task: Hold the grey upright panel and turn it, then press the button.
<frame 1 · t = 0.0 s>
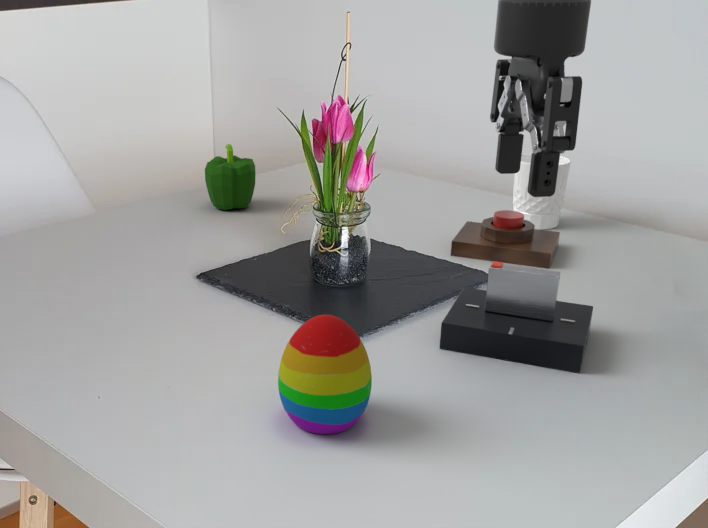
hand: (522, 183, 77), 19 cm above the table, tool pointing down, fingers open, 8 cm apart
button: (508, 220, 115), point 4 cm above the table, slide at 0.1 cm
white cup: (534, 224, 128), on the table
grey upright panel: (521, 290, 88), point 6 cm above the table, hinge at 0.0°
tap panel: (515, 339, 90), on the table
decorative egg: (323, 421, 75), on the table
bell pepper: (231, 208, 138), on the table
button block: (504, 251, 117), on the table
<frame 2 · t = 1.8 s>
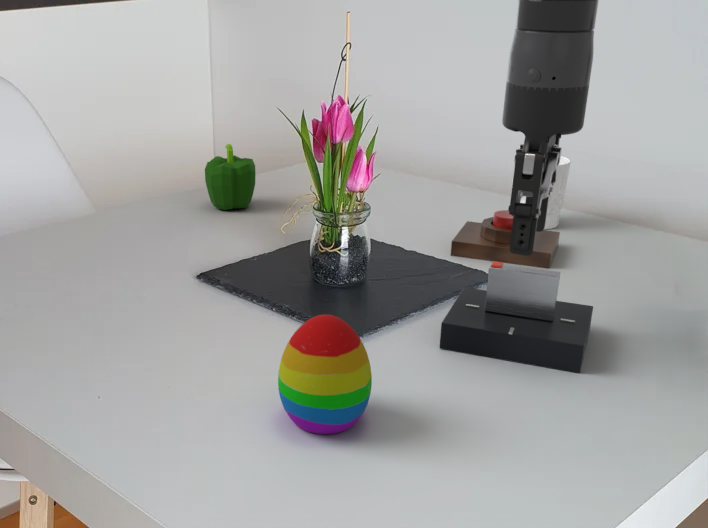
hand: (527, 241, 86), 11 cm above the table, tool pointing down, fingers open, 8 cm apart
nothing on the table moved.
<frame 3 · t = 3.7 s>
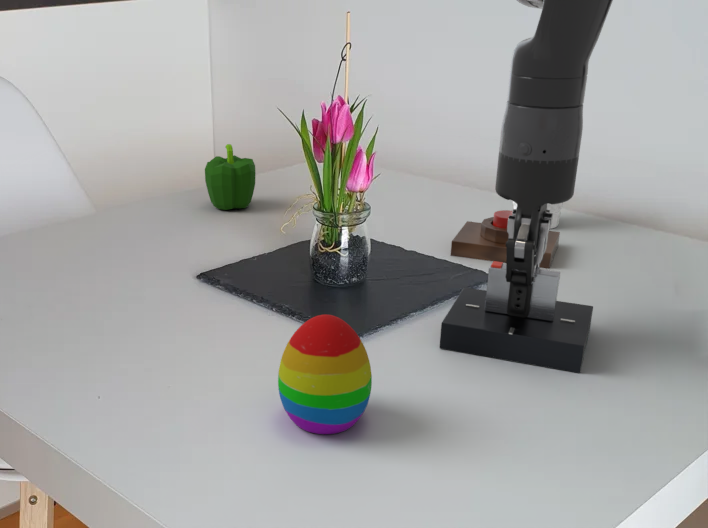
hand: (519, 310, 89), 3 cm above the table, tool pointing down, fingers closed on grey upright panel
grey upright panel: (521, 290, 88), point 6 cm above the table, hinge at 0.0°, touching gripper
everything else where it was.
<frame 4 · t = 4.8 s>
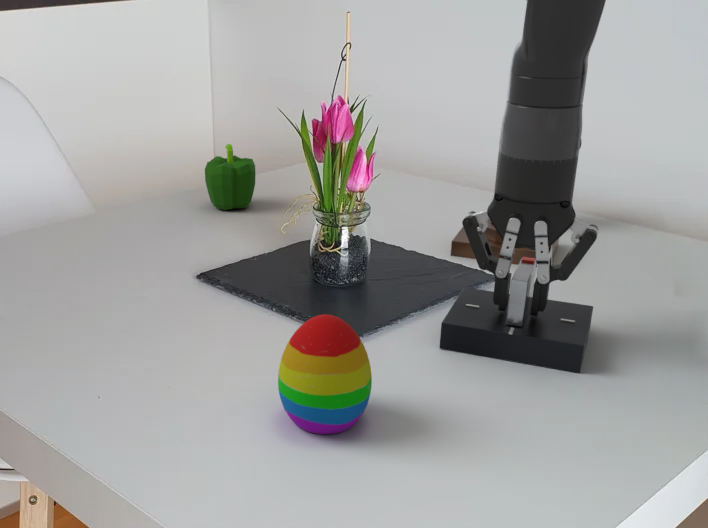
hand: (519, 310, 89), 3 cm above the table, tool pointing down, fingers closed
grey upright panel: (521, 290, 88), point 6 cm above the table, hinge at -89.7°
everything else where it was.
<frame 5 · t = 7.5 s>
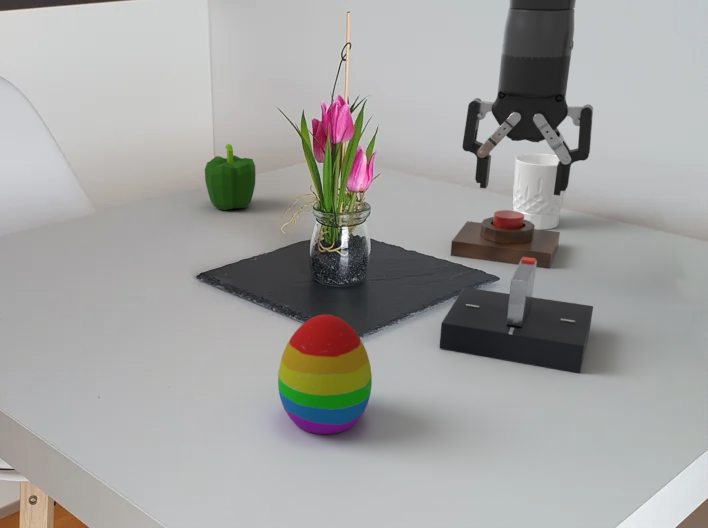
hand: (520, 190, 101), 12 cm above the table, tool pointing down, fingers open, 8 cm apart
nothing on the table moved.
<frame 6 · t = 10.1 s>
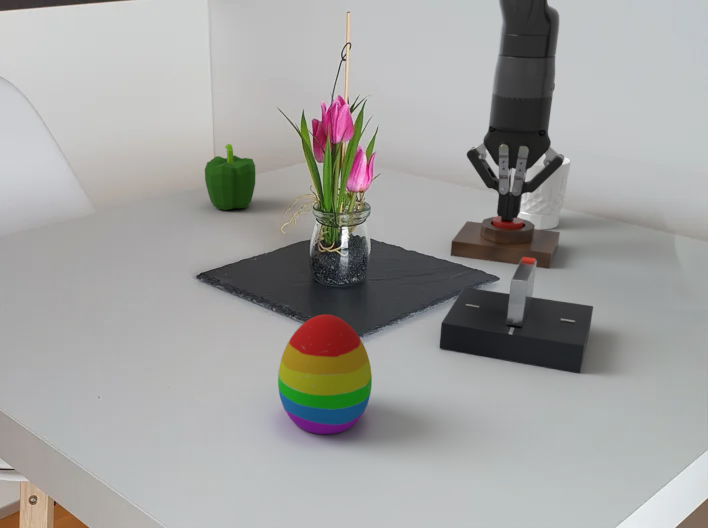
hand: (507, 219, 115), 5 cm above the table, tool pointing down, fingers closed
button: (507, 225, 115), point 4 cm above the table, slide at -0.7 cm, touching gripper
everything else where it was.
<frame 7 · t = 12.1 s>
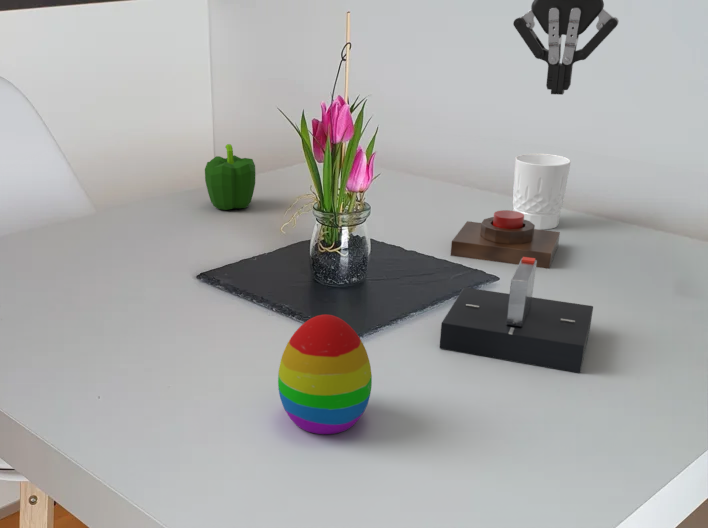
hand: (557, 93, 109), 22 cm above the table, tool pointing down, fingers closed
button: (508, 220, 115), point 4 cm above the table, slide at 0.1 cm
everything else where it was.
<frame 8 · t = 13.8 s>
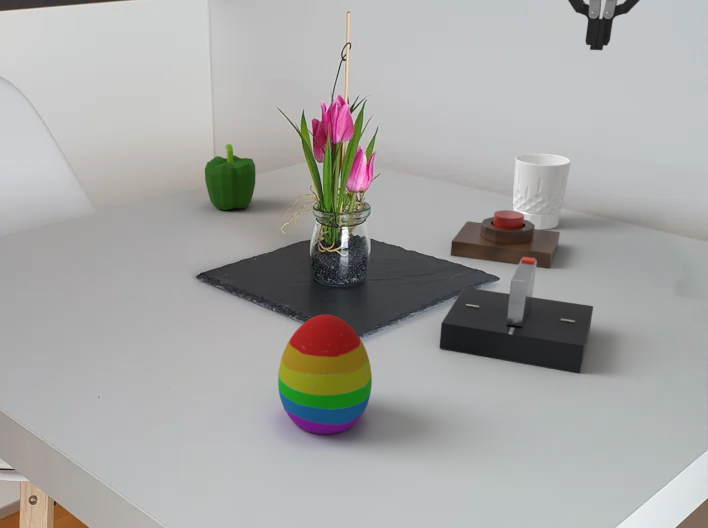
hand: (596, 49, 106), 27 cm above the table, tool pointing down, fingers closed
nothing on the table moved.
at the end: grey upright panel at -90° (first picture: +0°); button pushed in 1.1 cm at the most during the clip, back to where it started at the end; button slide at 0.1 cm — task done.
